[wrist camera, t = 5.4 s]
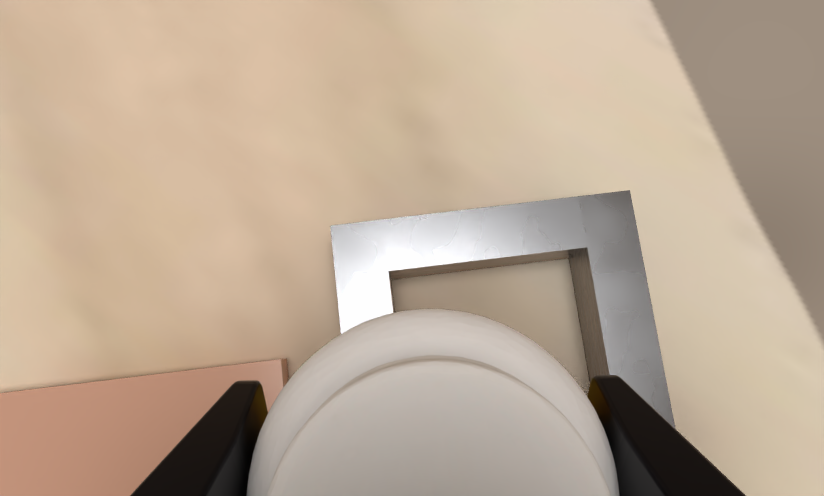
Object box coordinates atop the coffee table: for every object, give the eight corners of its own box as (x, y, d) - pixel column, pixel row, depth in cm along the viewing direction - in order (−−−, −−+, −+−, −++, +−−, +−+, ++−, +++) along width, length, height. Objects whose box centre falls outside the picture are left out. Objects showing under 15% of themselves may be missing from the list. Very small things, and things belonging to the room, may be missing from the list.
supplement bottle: (316, 341, 17) (171, 309, 7) (508, 321, 17) (651, 262, 7) (330, 550, 16) (185, 888, 6) (536, 527, 16) (753, 820, 6)
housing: (659, 489, 22) (690, 507, 19) (368, 527, 22) (362, 549, 19) (607, 206, 24) (629, 190, 21) (339, 238, 24) (330, 225, 21)
